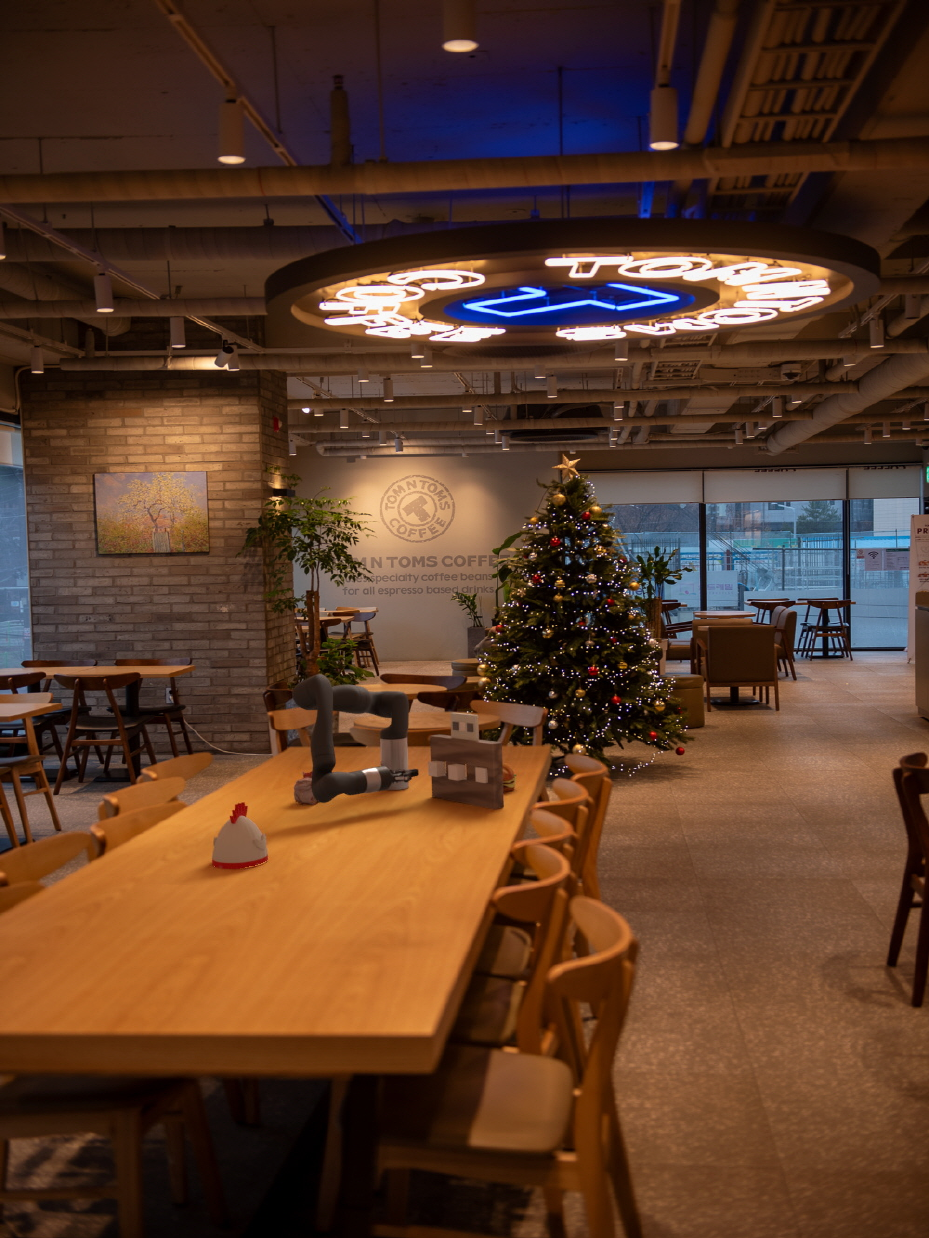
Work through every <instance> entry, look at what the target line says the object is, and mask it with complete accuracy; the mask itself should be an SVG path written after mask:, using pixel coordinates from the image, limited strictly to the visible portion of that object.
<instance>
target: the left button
mask: <svg viewBox="0 0 929 1238" xmlns="http://www.w3.org/2000/svg"><path fill="white" fill-rule="evenodd" d="M445 768H446V761H445V762H443V761H431V760H430V761H427V770H428V771H427V775H428V776H430V777H431V776H434V777H440V776H446V775H445Z"/></svg>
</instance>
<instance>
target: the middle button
mask: <svg viewBox="0 0 929 1238" xmlns="http://www.w3.org/2000/svg"><path fill="white" fill-rule="evenodd" d="M466 777H467V776H466V764H465V765H462V764H452V765H448V779H451V780H457V781H458V780H464V779H466Z"/></svg>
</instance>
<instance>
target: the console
mask: <svg viewBox="0 0 929 1238" xmlns="http://www.w3.org/2000/svg"><path fill="white" fill-rule="evenodd" d="M429 739H430V740H429V741H430V742H429V743H430V744H429V745H430V761H443V762H445V775H446V776H440V777H434V776H430V777H431V797H432V798H437V799H440V800H441V799H442V800H447V801H451V802H456V803H461V804H466V805H471V806H476V807H482V808H487V809H492V810H497V809H502V808H504V806H505V800H504V797H505V796H504V791H503V763H504V762H503V742H500V741H492V740H485V739H479V741H473V740H465V739H457V738H451V735H446V734H433V735H430V736H429ZM452 764H462V765H466V779H464V780H458V781H457V780H451V779H448V765H452ZM475 767H486V768H488V783H481V782H476V776H475Z"/></svg>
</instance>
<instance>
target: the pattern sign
mask: <svg viewBox="0 0 929 1238" xmlns="http://www.w3.org/2000/svg"><path fill="white" fill-rule="evenodd" d="M479 723H480V721H479V714H471V713H463V712H462V713H460V712H450V736H451V738H457V739H465V740H473V741H479V740H480V733H479V732H480V728H479V727H480V726H479Z"/></svg>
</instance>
